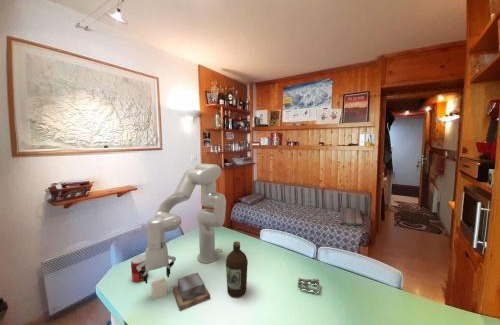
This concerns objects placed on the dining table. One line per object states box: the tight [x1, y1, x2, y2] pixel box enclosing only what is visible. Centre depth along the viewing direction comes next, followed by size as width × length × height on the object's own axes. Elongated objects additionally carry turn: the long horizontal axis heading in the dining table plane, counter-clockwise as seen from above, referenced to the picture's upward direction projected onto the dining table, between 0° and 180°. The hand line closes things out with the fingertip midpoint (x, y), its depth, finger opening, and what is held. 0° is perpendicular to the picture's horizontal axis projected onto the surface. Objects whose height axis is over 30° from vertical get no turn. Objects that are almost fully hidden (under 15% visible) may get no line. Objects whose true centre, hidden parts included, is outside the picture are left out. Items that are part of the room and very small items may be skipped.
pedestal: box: [172, 272, 211, 312], centre depth 102 cm, size 14×14×7 cm
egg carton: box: [297, 277, 321, 293], centre depth 106 cm, size 11×8×4 cm
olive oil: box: [225, 240, 249, 299], centre depth 103 cm, size 11×11×25 cm
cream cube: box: [150, 276, 168, 301], centre depth 103 cm, size 6×6×6 cm
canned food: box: [130, 254, 149, 283], centre depth 114 cm, size 8×8×11 cm
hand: (157, 278), depth 101 cm, fingers open, 9 cm apart
